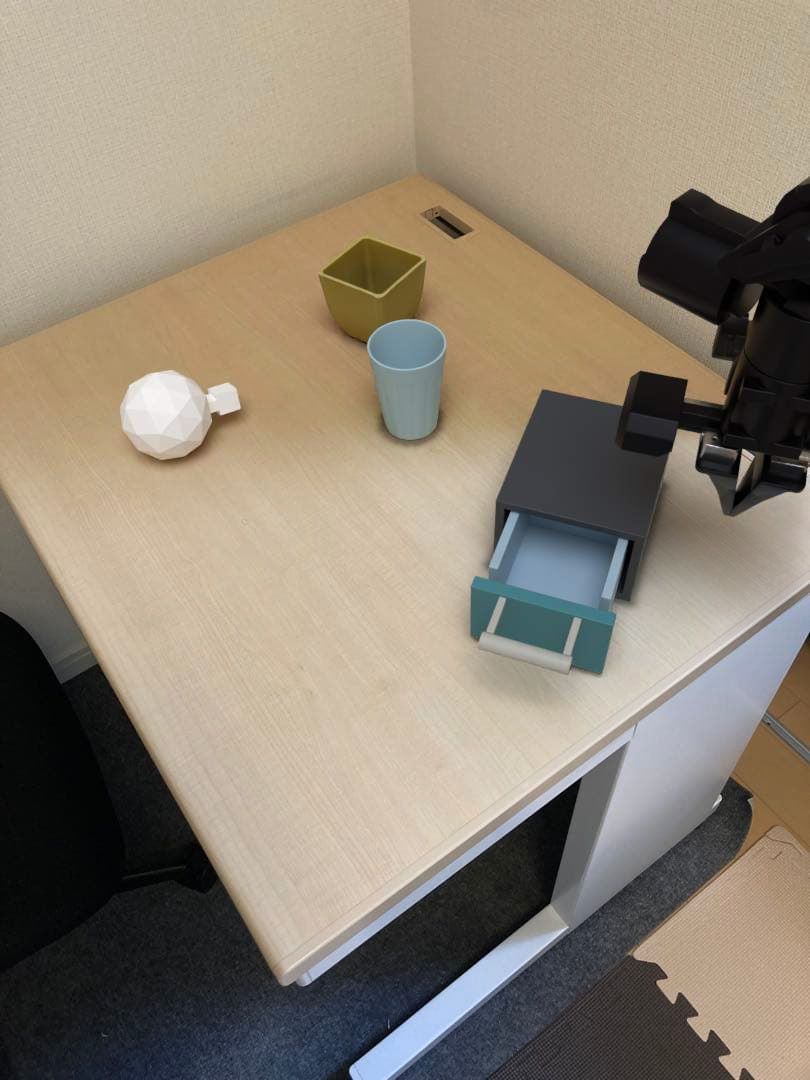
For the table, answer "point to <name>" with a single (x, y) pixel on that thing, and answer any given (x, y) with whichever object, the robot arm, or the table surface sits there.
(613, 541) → the teal drawer
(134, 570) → the table surface
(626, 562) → the drawer cabinet
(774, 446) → the robot arm
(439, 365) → the cup
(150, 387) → the perfume bottle
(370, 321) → the flower pot
